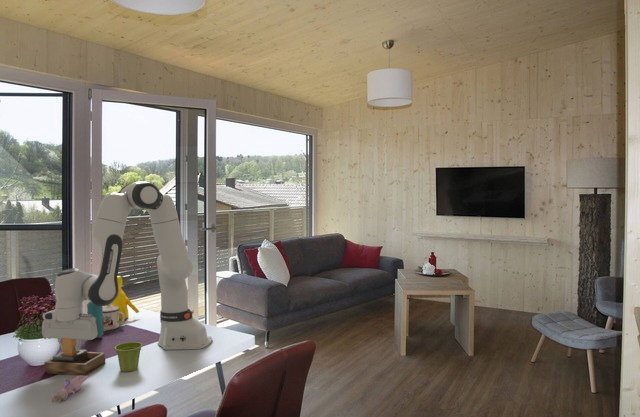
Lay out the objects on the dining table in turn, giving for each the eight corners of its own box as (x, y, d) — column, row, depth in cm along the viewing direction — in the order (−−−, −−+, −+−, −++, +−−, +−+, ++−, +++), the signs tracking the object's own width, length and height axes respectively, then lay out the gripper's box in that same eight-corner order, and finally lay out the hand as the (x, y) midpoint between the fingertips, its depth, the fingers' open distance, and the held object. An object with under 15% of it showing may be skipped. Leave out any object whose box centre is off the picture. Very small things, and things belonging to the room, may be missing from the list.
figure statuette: (141, 317, 244) (140, 274, 243) (134, 321, 237) (133, 277, 235) (107, 316, 246) (106, 273, 245) (99, 320, 238) (98, 276, 237)
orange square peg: (78, 359, 179) (77, 330, 178) (72, 363, 175) (71, 333, 175) (69, 359, 179) (68, 329, 179) (63, 362, 176) (62, 332, 175)
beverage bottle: (106, 336, 214) (105, 291, 213) (98, 341, 207) (97, 295, 206) (93, 335, 214) (91, 291, 213) (84, 340, 208) (83, 295, 207)
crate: (105, 363, 182) (105, 352, 182) (85, 375, 170) (85, 364, 170) (66, 360, 184) (66, 350, 184) (44, 373, 172) (44, 362, 172)
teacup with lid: (94, 330, 223) (94, 305, 222) (104, 324, 232) (104, 300, 231) (120, 330, 222) (119, 305, 221) (129, 324, 231) (128, 301, 230)
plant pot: (124, 363, 182) (124, 340, 181) (147, 365, 180) (147, 342, 180) (109, 373, 173) (109, 349, 172) (133, 374, 171) (133, 351, 170)
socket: (87, 361, 181) (87, 349, 181) (73, 369, 173) (73, 357, 173) (68, 360, 182) (67, 348, 182) (53, 368, 174) (53, 356, 174)
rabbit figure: (65, 408, 149) (95, 380, 163) (63, 391, 148) (92, 365, 162) (47, 406, 150) (78, 379, 164) (44, 389, 148) (75, 364, 163)
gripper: (100, 312, 178) (101, 348, 179) (50, 310, 181) (51, 346, 182) (90, 316, 172) (91, 354, 173) (38, 314, 175) (39, 351, 176)
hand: (70, 350), depth 177 cm, fingers closed on orange square peg, 3 cm apart
